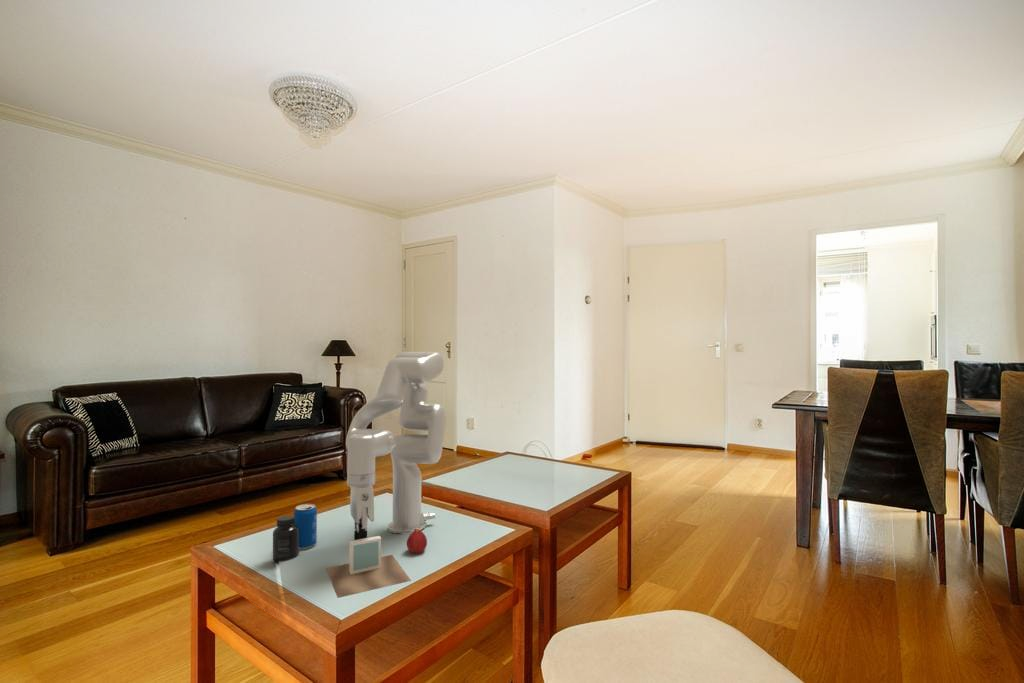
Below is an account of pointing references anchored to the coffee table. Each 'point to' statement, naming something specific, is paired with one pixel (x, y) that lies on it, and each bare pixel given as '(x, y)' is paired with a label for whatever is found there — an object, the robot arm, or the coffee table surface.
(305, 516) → the beverage can
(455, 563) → the coffee table surface
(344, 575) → the board
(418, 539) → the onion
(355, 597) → the coffee table surface
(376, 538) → the tile
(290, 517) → the supplement bottle
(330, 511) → the coffee table surface
